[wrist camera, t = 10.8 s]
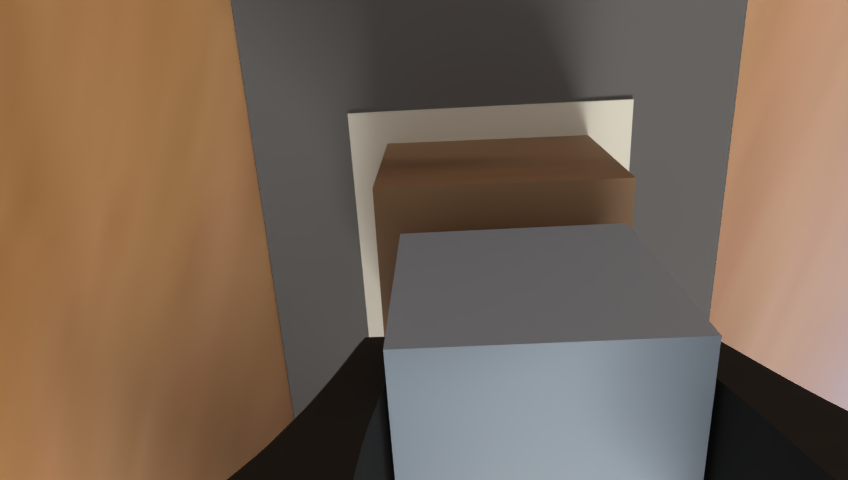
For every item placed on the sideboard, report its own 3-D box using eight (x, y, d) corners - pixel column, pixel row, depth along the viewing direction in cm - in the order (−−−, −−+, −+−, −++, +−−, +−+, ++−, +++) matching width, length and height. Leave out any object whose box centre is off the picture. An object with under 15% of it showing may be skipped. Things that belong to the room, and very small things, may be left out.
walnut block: (579, 314, 17) (619, 400, 14) (399, 320, 18) (389, 406, 14) (588, 135, 16) (635, 177, 12) (387, 143, 16) (372, 187, 12)
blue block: (614, 411, 13) (690, 586, 9) (414, 420, 13) (405, 594, 9) (625, 223, 11) (722, 335, 7) (399, 233, 11) (383, 350, 8)
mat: (686, 433, 20) (695, 448, 19) (304, 445, 20) (299, 461, 19) (743, -63, 15) (757, -66, 14) (233, -33, 15) (224, -35, 14)
